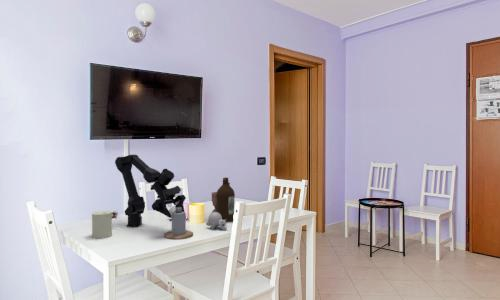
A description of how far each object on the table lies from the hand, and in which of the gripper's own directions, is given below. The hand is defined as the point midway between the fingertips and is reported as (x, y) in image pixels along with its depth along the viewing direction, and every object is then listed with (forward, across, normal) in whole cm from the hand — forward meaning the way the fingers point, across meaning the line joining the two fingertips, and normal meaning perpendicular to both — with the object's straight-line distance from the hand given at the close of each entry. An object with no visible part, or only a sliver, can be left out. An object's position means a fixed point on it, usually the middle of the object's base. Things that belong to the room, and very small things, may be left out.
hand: (177, 215), depth 178 cm
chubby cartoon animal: (+13, +21, +1) cm, 25 cm away
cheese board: (+8, 0, +7) cm, 11 cm away
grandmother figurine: (-33, -2, +46) cm, 57 cm away
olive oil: (+7, +38, +7) cm, 39 cm away
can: (-13, -22, +28) cm, 38 cm away
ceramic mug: (-9, +24, +24) cm, 35 cm away
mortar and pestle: (-3, +52, +18) cm, 55 cm away
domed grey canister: (+7, 0, +6) cm, 9 cm away
